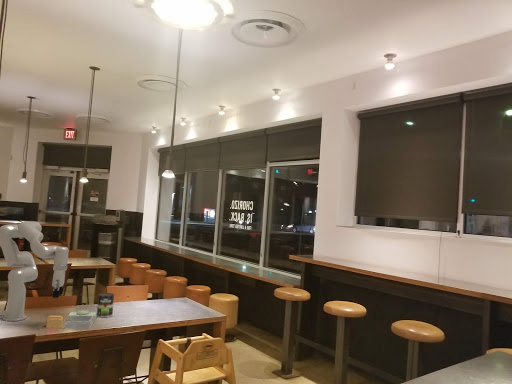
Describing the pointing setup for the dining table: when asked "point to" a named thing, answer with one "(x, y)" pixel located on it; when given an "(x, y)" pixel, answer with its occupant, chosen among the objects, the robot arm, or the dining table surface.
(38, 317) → the dining table surface
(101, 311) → the coffee can
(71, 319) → the clear square container
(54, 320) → the chute block
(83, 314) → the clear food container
